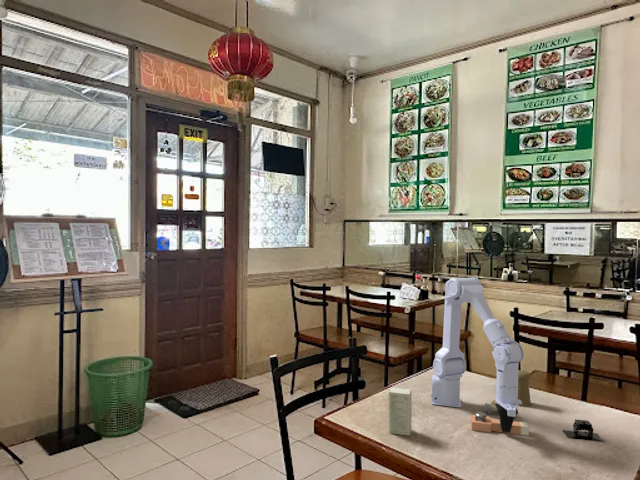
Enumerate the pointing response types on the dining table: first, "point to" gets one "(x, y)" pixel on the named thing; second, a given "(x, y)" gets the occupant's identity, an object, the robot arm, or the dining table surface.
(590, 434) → the black piece
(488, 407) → the stand
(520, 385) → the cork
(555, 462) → the dining table surface
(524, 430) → the link
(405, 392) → the skincare box
